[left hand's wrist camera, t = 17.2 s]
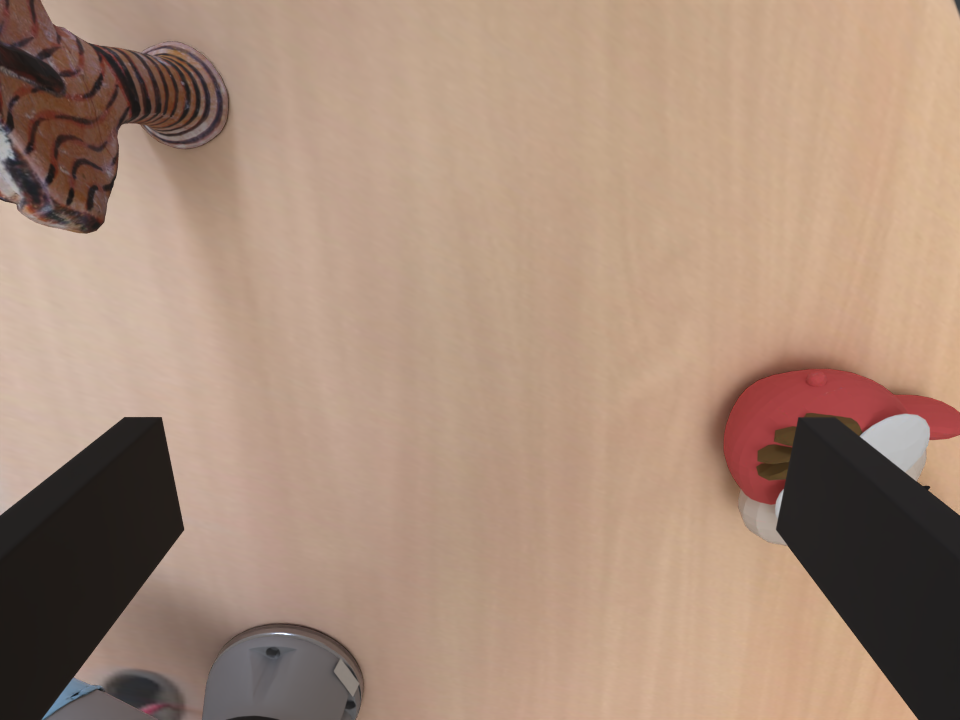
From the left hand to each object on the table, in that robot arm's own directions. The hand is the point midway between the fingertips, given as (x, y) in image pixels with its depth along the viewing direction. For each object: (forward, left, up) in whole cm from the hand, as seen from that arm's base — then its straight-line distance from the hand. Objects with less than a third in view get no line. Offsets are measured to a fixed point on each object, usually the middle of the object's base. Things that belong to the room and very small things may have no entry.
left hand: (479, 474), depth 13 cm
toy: (+7, -38, -36) cm, 53 cm away
